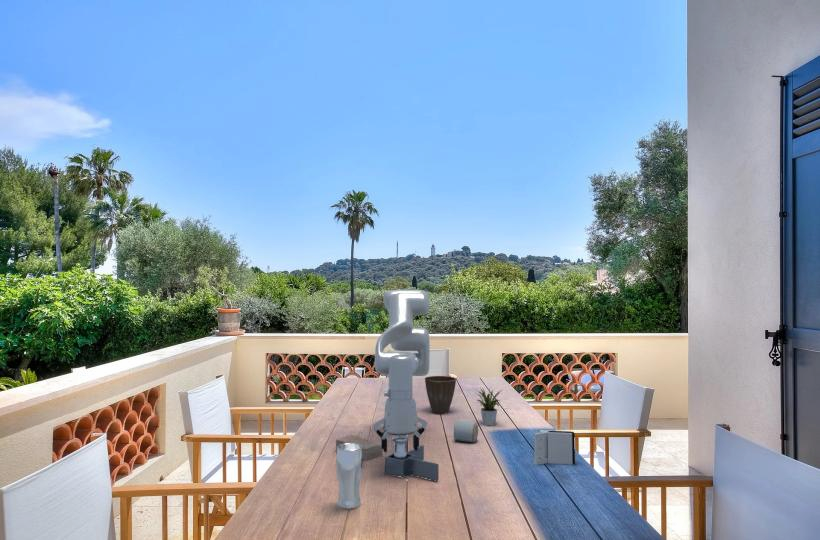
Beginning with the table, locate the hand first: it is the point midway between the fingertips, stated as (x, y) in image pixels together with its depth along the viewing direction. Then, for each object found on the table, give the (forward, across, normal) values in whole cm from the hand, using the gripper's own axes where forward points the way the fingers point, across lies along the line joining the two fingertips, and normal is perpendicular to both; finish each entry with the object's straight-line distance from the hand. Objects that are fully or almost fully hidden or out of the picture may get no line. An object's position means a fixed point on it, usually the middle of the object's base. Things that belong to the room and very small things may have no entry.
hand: (400, 450), depth 154 cm
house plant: (+7, +47, +50) cm, 69 cm away
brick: (+7, -10, +22) cm, 25 cm away
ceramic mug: (+7, +31, +29) cm, 44 cm away
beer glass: (+7, -18, -20) cm, 28 cm away
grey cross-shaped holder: (+7, +7, 0) cm, 10 cm away
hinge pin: (+7, 0, 0) cm, 7 cm away
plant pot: (+7, +34, +75) cm, 83 cm away
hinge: (+7, +52, -1) cm, 52 cm away
